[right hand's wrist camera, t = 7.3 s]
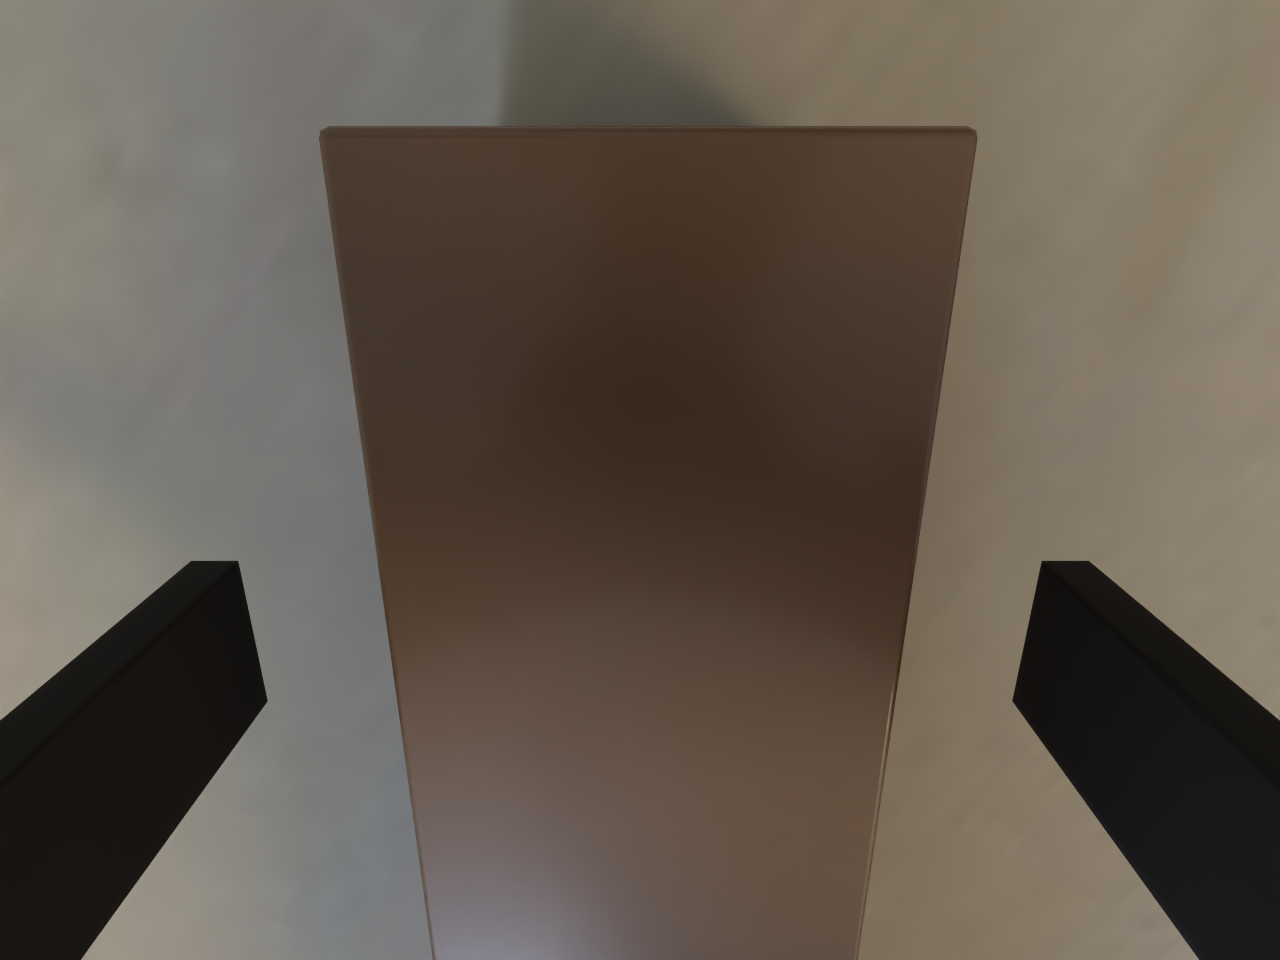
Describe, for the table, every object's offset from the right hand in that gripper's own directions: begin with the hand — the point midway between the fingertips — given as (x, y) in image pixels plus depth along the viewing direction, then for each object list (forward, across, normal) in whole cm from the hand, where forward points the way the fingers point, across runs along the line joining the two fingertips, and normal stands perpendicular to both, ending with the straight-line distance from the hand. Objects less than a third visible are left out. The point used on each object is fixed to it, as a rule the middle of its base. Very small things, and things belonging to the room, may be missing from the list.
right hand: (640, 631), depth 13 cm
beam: (+3, 0, -19) cm, 20 cm away
